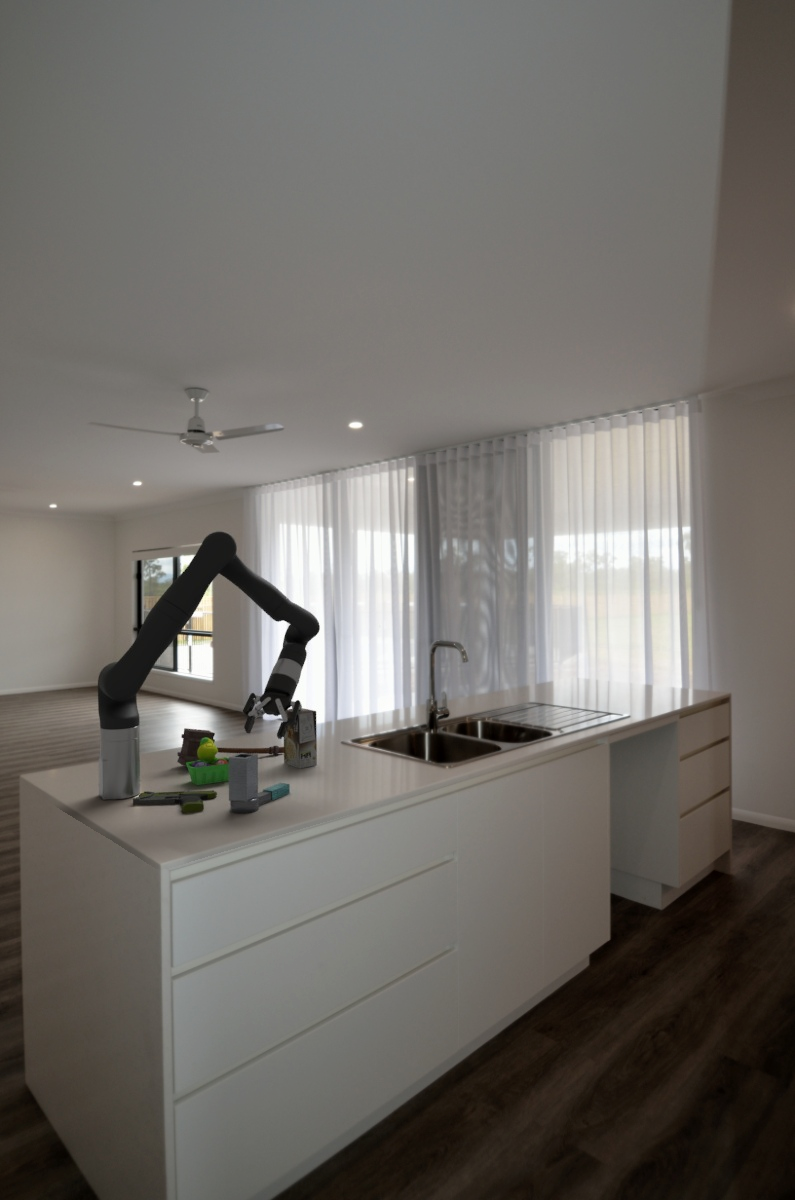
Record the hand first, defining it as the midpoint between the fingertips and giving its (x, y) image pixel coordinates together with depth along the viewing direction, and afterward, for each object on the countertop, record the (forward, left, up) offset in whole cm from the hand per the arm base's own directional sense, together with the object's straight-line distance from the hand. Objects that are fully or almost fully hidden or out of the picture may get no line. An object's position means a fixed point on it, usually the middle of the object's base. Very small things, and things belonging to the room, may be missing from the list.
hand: (263, 734), depth 171 cm
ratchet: (-3, -6, -15) cm, 16 cm away
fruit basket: (-7, +21, -15) cm, 27 cm away
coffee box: (+21, +24, -15) cm, 36 cm away
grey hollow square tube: (-8, -8, -13) cm, 17 cm away
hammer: (+6, +40, -16) cm, 43 cm away
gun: (-21, +5, -16) cm, 27 cm away
